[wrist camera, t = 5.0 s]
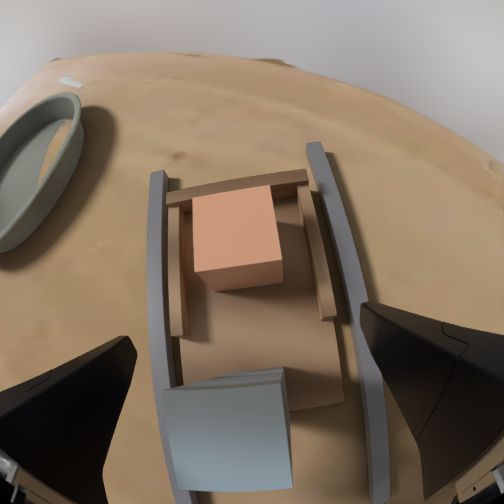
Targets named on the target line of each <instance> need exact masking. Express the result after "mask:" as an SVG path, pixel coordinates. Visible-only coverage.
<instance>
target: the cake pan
mask: <svg viewBox="0 0 504 504" xmlns="http://www.w3.org/2000/svg"><path fill="white" fill-rule="evenodd" d="M80 114H81V102H80V99H79V97H78V96H77V95H75V94H73V93H59V94H56V95H53V96H50V97H48V98H46V99H44V100H42V101H40V102H39V103H37V104H36V105H34V106H33V107H31V108H30V109H28V110H27V111H26V112H25V113H23V114H22V115H21V116H20V117H19V118H18V119H17V120H15V121H14V122H13V123H12V124H11V125H10V126H9V127H8V129H7V130H6V131H5V132H4V133H3V134H2V135H1V136H0V253H4V252H7V251H10V250H12V249H14V248H15V247H17V246H18V245H20V244H21V243H22V242H23V241H24V240H26V239H27V238H28V237H29V236H30V235H31V234H32V233H33V232H34V231H35V229H36V228H37V227H38V226H39V225H40V224H41V223H42V221H43V220H44V219H45V217H46V216H47V215H48V213H49V212H50V211H51V209H52V208H53V206H54V205H55V204H56V202H57V200H58V199H59V197H60V196H61V194H62V193H63V191H64V189H65V187H66V186H67V184H68V182H69V180H70V178H71V176H72V174H73V172H74V170H75V168H76V166H77V163H78V161H79V158H80V155H81V152H82V148H83V143H84V130H83V127H82V124H81V121H80ZM65 120H73V122H72V125H71V128H70V131H69V133H68V135H67V137H66V140H65V142H64V144H63V146H62V147H61V149H60V151H59V153H58V155H57V156H56V158H55V160H54V161H53V163H52V165H51V166H50V168H49V170H48V171H47V173H46V174H45V176H44V177H43V179H42V181H41V182H40V183H39V185H38V186H37V182H38V178H39V175H40V171H41V168H42V165H43V161H44V158H45V155H46V152H47V149H48V146H49V144H50V142H51V141H52V139H53V137H54V136H55V134H56V133H57V131H58V129H59V128H60V126H62V125H63V123H64V122H65ZM36 186H37V188H36Z"/></svg>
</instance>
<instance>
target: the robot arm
mask: <svg viewBox="0 0 504 504" xmlns="http://www.w3.org/2000/svg"><path fill="white" fill-rule="evenodd" d="M360 327H361V329H362V332H363V335H364V337H365V340H366V342H367V345H368V348H369V350H370V353H371V355H372V357H373V359H374V361H375V363H376V364H377V366H378V368H379V370H380V372H381V374H382V376H383V377H384V379H385V381H386V383H387V385H388V387H389V389H390V391H391V393H392V395H393V397H394V398H395V400H396V402H397V404H398V406H399V408H400V410H401V412H402V414H403V416H404V418H405V420H406V422H407V424H408V426H409V428H410V430H411V432H412V435H413V437H414V439H415V441H416V443H417V445H418V448H419V452H420V457H421V466H422V477H423V492H424V500H425V501H426V500H428V499H430V498H432V497H435V496H437V495H439V494H441V493H443V492H445V491H447V490H449V489H451V488H453V487H454V486H455V487H456V490H457V492H458V495H457V496H455V497H454V499H453V501H452V503H451V504H504V335H501V334H495V333H490V332H485V331H480V330H475V329H470V328H466V327H461V326H457V325H454V324H450V323H446V322H441V321H438V320H435V319H431V318H428V317H424V316H421V315H417V314H414V313H411V312H407V311H404V310H400V309H397V308H393V307H390V306H387V305H383V304H380V303H377V302H373V301H367V302H363V303H361V305H360ZM136 360H137V351H136V349H135V347H134V345H133V343H132V341H131V339H130V338H129V337H128V336H118V337H116V338H114V339H113V340H111V341H109V342H107V343H105V344H103V345H101V346H99V347H97V348H95V349H93V350H91V351H89V352H87V353H85V354H83V355H81V356H79V357H77V358H75V359H73V360H71V361H68V362H66V363H64V364H62V365H60V366H58V367H56V368H54V370H53V369H52V370H49V371H47V372H45V373H43V374H41V375H39V376H37V377H35V378H32V379H30V380H28V381H25V382H23V383H21V384H18V385H16V386H13V387H11V388H8V389H6V390H4V391H1V392H0V504H108V500H107V496H106V492H105V487H104V482H103V467H104V466H103V465H104V463H105V460H106V457H107V453H108V450H109V447H110V444H111V440H112V437H113V434H114V431H115V428H116V425H117V422H118V419H119V416H120V413H121V410H122V407H123V404H124V401H125V398H126V396H127V393H128V390H129V387H130V384H131V380H132V376H133V372H134V368H135V364H136Z"/></svg>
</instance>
